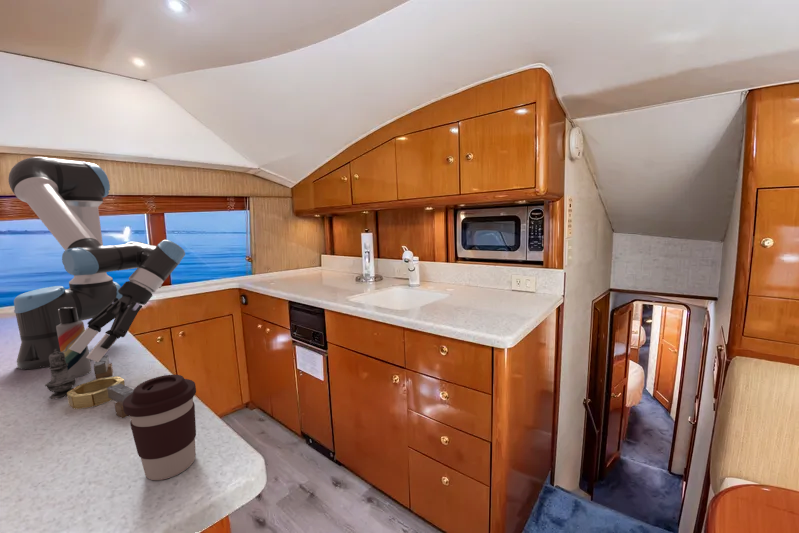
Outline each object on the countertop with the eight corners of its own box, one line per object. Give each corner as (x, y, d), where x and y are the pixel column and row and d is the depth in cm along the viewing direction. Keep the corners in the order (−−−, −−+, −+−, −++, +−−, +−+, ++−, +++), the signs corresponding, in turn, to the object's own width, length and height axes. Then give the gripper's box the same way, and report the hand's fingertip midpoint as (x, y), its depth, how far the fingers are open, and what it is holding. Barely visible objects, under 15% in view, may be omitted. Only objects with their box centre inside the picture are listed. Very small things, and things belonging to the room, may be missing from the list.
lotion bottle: (60, 377, 99) (48, 308, 96) (85, 368, 104) (73, 304, 101) (72, 379, 96) (59, 309, 94) (96, 371, 102) (84, 304, 99)
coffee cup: (217, 452, 62) (207, 372, 60) (164, 494, 53) (150, 401, 51) (177, 443, 65) (166, 367, 63) (120, 481, 56) (105, 393, 54)
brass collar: (65, 401, 84) (62, 389, 83) (115, 384, 92) (114, 373, 92) (77, 412, 78) (75, 400, 78) (130, 393, 86) (128, 382, 86)
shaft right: (107, 410, 79) (103, 388, 78) (126, 402, 82) (122, 382, 81) (123, 419, 75) (120, 396, 74) (142, 410, 78) (139, 389, 77)
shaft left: (111, 381, 94) (108, 363, 93) (93, 385, 92) (90, 366, 91) (113, 371, 101) (110, 354, 100) (97, 375, 99) (94, 358, 98)
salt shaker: (59, 400, 84) (50, 353, 83) (40, 399, 86) (31, 352, 84) (85, 389, 90) (77, 344, 89) (67, 387, 91) (59, 344, 90)
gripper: (172, 297, 96) (115, 370, 85) (135, 291, 109) (82, 353, 99) (147, 282, 90) (83, 357, 80) (111, 277, 104) (53, 341, 94)
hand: (82, 355), depth 90 cm, fingers open, 13 cm apart
